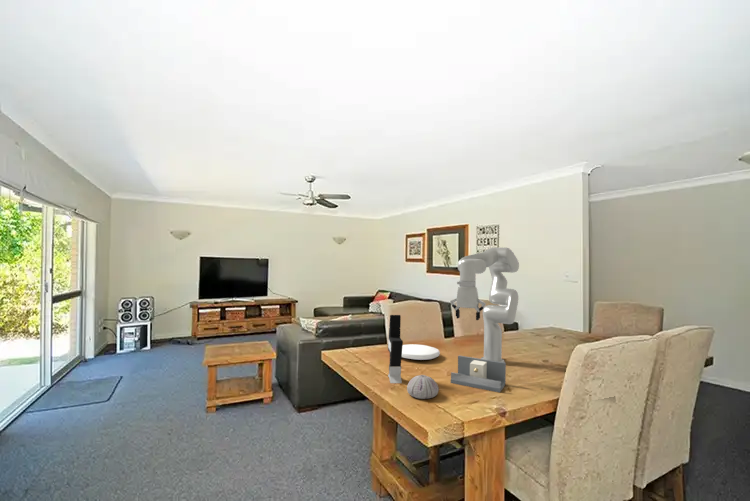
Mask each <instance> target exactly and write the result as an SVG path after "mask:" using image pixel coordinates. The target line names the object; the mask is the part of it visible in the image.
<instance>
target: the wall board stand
mask: <svg viewBox="0 0 750 501" xmlns="http://www.w3.org/2000/svg"><path fill="white" fill-rule="evenodd" d="M473 360H478V361H484V362H487V379H486V378H481V377H475V376H470V363H471V362H472V361H473ZM506 363H507V362H505V361H504V362H498V361H491V360H485V359H481V358H478V357H472V356H465V355H464V356H463V355H460V354H458V356H457V372H452V371H451V372H450V384H453V385H454V384H455V385H459V386H464V387H469V388H473V389H474V388H475V389H479V390H485V391H489V392H490V391H491V392H496V393H499V394H500V393H501V392H502V391H503V390H504V387H505V386H506V378H507V377H506V376H507V375H506V372H507V369H506V368H507V367H506V365H507V364H506Z"/></svg>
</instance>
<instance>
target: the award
mask: <svg viewBox="0 0 750 501" xmlns="http://www.w3.org/2000/svg"><path fill="white" fill-rule="evenodd" d="M401 319H402V318H401V314H390V315H389V323H388V324H389V325H388V326H389V328H388V343H387V351H388V352H389V365H388V375H387V377H388V378H389V383H390V384H402V376H401V373H402V358H403V357H402V346H403V345H404V341H403V339H402V338H401V321H402V320H401Z"/></svg>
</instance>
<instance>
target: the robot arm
mask: <svg viewBox="0 0 750 501" xmlns="http://www.w3.org/2000/svg"><path fill="white" fill-rule="evenodd" d="M487 268H488V270H489V273H490V276H491V280H492V281H491V284H490V290H489V294H488V300H489V303H492V304H488V305H487V303H486V302H485V301H483V300H481V299H479V292H478V291H479V290H478V287H477V286H476V279H477V278H476V275H479V274H484V273H485V272H486V270H487ZM519 269H520V263H519V260H518V257H517V256H516V255H515V253H514V251H513V250H512V249H510V248H509V247H490V248H488V249H485V250H484V251H482V252H478V253H473V254H469V255H465V256H463V257H461V258H460V259H459V260H458V262H457V270H458V271H459V280H458V281H457V282H456V284H457V285H459V286H457V292H456V293H457V294H456V298H454V299H452V300H450V304H451V306H452V308H453V309H454V311H455V317H456V319H459V318H460V317H461V315H460V313H461V312H460V308H463V309H464V308H465V309H475V311H476V312H475V321H479V320H480V319H481V311H482V318H483V356H481V358H480V359H485V360H491V361H498V362H504V363H505V359H503V358H502V356H503V354H502V352H503V351H502V348H503V346H502V344H503V334H502V333H503V332H502V328H501V326H500V325H499V324H505V325H512V324H514V323H515V320H516V316H517V311H518V310H517V309H518V304H519V294H518V293H519V292H518V291H517V290H516V289H514V288H507V286H508V279H507V278H506V277H505V275H504V274H503V273H510V274H512V273H513V274H514V273H517V272H518V271H519ZM455 303H456V304H455ZM479 304H480V305H481V307H480V306H479Z"/></svg>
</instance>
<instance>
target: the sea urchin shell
mask: <svg viewBox="0 0 750 501" xmlns="http://www.w3.org/2000/svg"><path fill="white" fill-rule="evenodd" d="M406 386H407V387H406V390H407V391H406V392H407V394H409V395H410V396H411V397H413V398H415V399H419V400H420V399H421V400H425V399H426V400H429V399H432V398H434V397H436V396H437V395H438V394H439V392H440V391H439V390H440V388H439V385H438V383H437V382H436V381H435V380H434V379H433V377H430V376H428V375H426V374H420V375H415V376H413V377H412V378H411V379H410V380H409V382H408V384H407V385H406Z"/></svg>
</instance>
